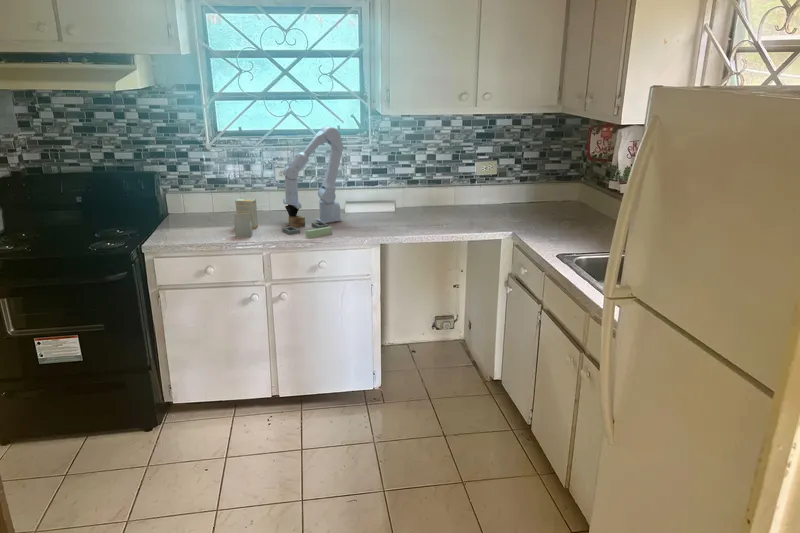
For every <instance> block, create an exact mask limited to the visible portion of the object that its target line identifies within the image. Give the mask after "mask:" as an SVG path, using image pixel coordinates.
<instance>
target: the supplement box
mask: <svg viewBox="0 0 800 533" xmlns="http://www.w3.org/2000/svg"><path fill="white" fill-rule="evenodd" d="M234 203H235V210H236V213H235V214H251V221H252V230H255V229H257V228H258V227H259V222H258V221H259V220H258V208H257V207H258V206H257V198H255V199H254V198H242V197H240V198H237V199H236V200H235V202H234Z"/></svg>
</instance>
